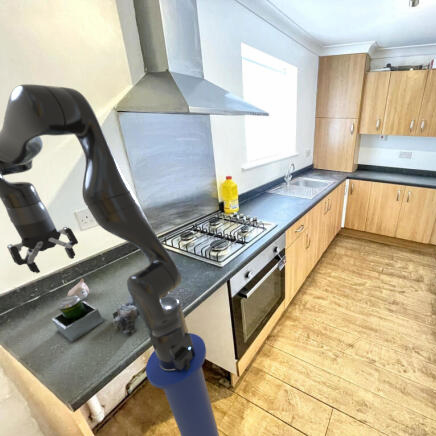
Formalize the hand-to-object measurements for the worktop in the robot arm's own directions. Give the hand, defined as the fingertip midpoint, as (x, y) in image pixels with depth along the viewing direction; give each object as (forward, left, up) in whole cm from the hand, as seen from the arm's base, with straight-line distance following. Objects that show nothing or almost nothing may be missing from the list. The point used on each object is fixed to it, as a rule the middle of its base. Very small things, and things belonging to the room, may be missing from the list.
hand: (55, 264), depth 74 cm
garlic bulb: (+13, -5, -24) cm, 28 cm away
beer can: (-3, +2, -24) cm, 25 cm away
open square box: (-3, +2, -24) cm, 24 cm away
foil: (-15, -8, -24) cm, 30 cm away
